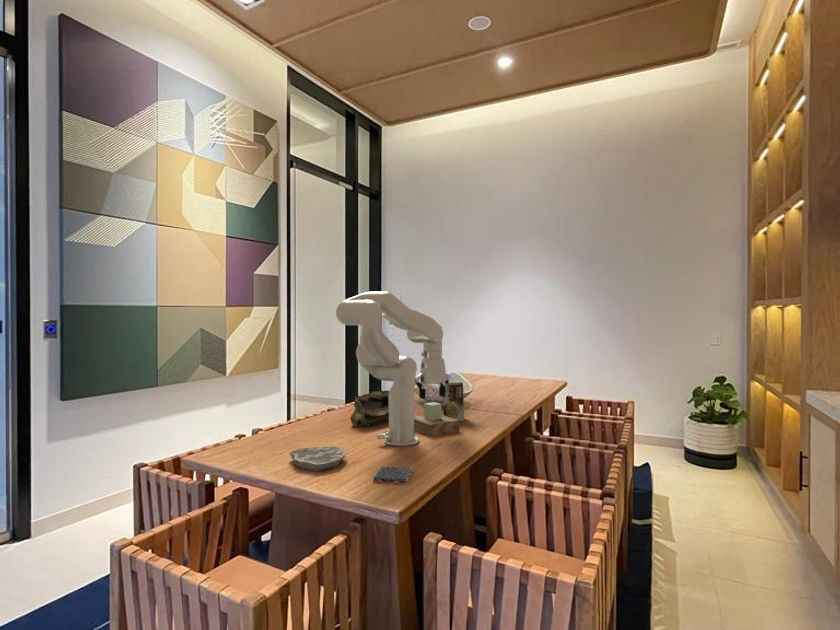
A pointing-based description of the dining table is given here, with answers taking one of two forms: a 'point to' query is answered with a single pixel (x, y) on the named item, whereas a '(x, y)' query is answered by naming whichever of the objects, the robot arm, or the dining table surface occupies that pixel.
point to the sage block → (432, 411)
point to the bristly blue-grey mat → (393, 475)
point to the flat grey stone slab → (318, 458)
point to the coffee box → (454, 401)
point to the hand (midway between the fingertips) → (432, 397)
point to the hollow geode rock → (370, 408)
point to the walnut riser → (436, 425)
